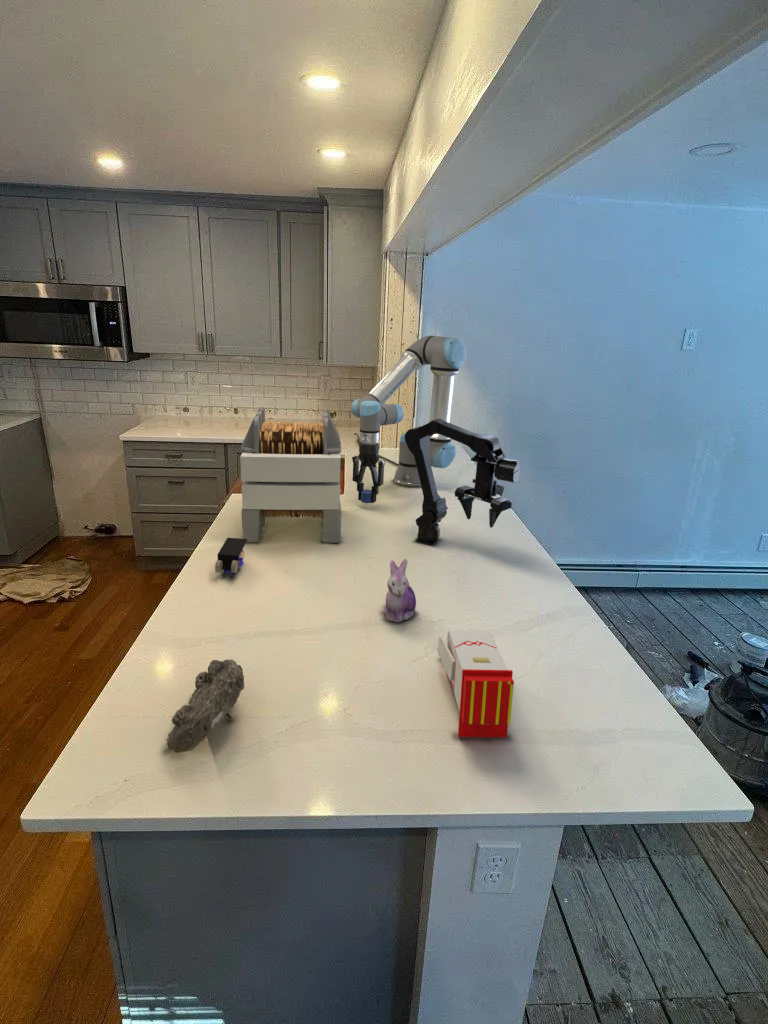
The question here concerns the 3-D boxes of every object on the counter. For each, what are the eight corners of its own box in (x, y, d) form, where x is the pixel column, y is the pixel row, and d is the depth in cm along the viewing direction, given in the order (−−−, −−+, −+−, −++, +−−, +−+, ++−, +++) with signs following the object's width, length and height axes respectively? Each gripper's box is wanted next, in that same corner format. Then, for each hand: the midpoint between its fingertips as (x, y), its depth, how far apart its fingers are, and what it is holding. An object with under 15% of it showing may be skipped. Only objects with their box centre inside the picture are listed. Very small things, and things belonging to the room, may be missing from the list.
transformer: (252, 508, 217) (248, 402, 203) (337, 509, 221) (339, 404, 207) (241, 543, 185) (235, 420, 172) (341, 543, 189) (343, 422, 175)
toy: (488, 613, 130) (523, 677, 101) (484, 667, 133) (517, 744, 104) (435, 612, 130) (455, 676, 101) (432, 666, 133) (451, 743, 103)
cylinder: (360, 503, 220) (360, 493, 219) (361, 498, 225) (361, 489, 224) (373, 503, 220) (374, 493, 219) (374, 499, 225) (374, 489, 224)
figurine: (392, 627, 141) (395, 572, 136) (374, 608, 149) (376, 556, 144) (425, 619, 145) (429, 566, 140) (405, 601, 154) (408, 550, 149)
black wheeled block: (238, 584, 162) (249, 557, 175) (236, 562, 158) (247, 536, 172) (215, 584, 161) (227, 556, 175) (212, 561, 158) (225, 535, 171)
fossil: (192, 660, 117) (244, 628, 112) (224, 691, 120) (276, 661, 115) (142, 746, 98) (202, 712, 93) (182, 779, 101) (242, 748, 96)
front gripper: (524, 479, 176) (518, 526, 181) (477, 466, 189) (473, 510, 194) (503, 485, 169) (497, 534, 174) (455, 471, 181) (451, 516, 187)
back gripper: (343, 441, 216) (342, 498, 223) (385, 448, 208) (382, 507, 216) (353, 437, 222) (352, 494, 230) (394, 444, 214) (392, 502, 222)
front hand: (479, 523), depth 182 cm, fingers open, 9 cm apart
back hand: (367, 500), depth 223 cm, fingers closed on cylinder, 5 cm apart
